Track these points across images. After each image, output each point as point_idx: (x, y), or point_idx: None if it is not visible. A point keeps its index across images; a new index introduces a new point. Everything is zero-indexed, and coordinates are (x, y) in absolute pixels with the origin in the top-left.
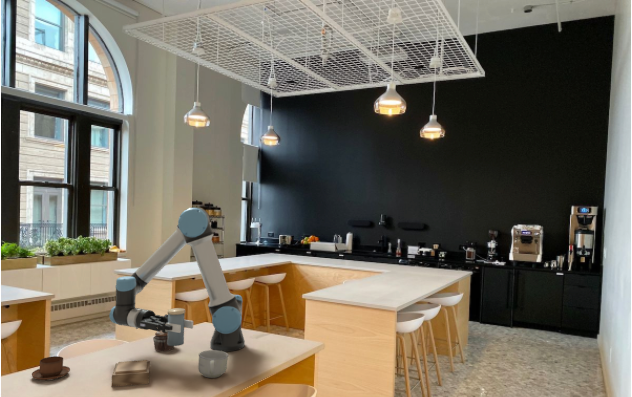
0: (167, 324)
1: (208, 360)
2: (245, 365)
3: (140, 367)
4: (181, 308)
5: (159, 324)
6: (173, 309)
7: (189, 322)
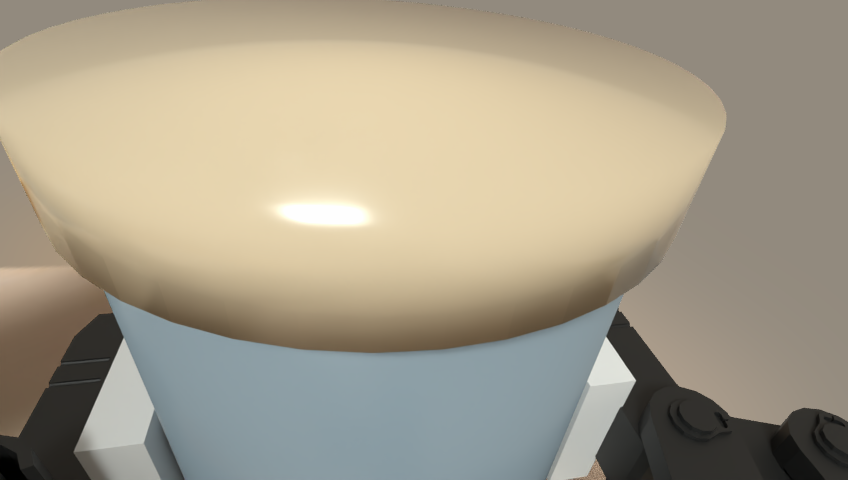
0: (606, 365)
1: None
2: (42, 356)
3: None
4: (28, 45)
5: (821, 414)
6: (380, 100)
7: None
